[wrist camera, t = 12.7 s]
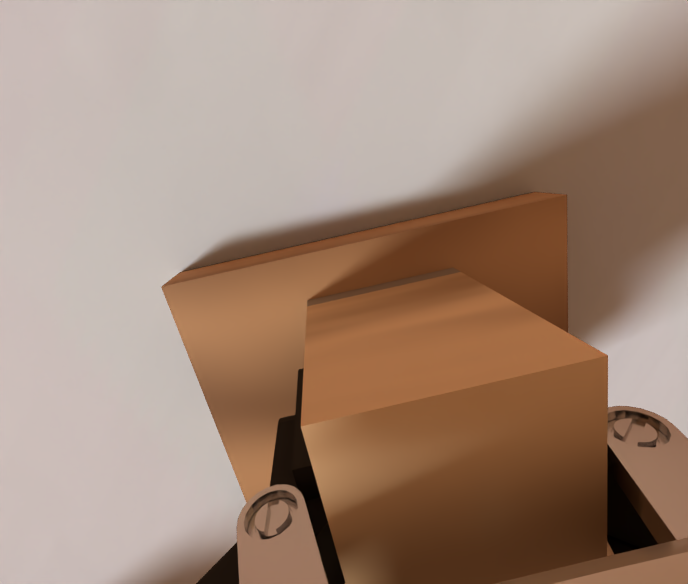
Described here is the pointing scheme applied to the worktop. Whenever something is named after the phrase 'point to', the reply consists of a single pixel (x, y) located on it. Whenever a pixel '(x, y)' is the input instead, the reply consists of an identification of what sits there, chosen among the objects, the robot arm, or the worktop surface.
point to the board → (340, 276)
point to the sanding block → (453, 433)
